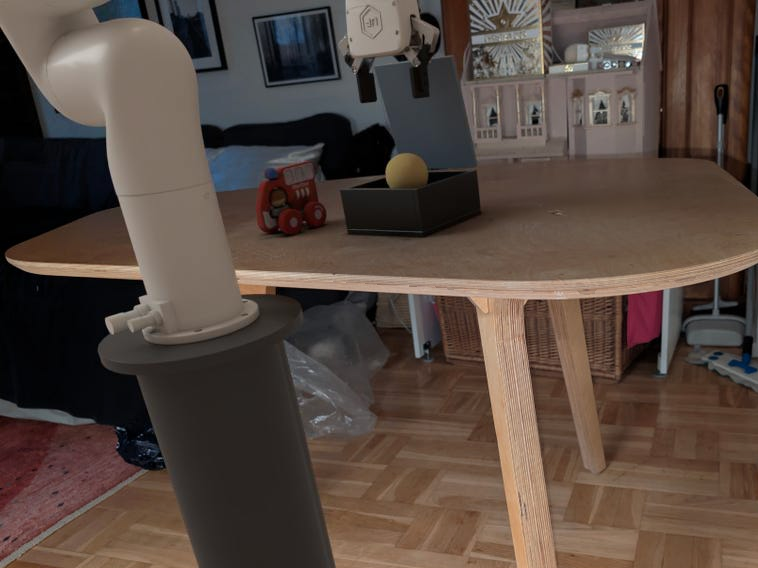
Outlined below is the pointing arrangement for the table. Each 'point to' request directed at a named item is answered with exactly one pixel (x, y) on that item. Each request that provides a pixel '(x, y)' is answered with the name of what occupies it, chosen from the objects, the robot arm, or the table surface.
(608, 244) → the table surface
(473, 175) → the compartment
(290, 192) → the toy fire truck
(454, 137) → the lid
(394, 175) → the light bulb
